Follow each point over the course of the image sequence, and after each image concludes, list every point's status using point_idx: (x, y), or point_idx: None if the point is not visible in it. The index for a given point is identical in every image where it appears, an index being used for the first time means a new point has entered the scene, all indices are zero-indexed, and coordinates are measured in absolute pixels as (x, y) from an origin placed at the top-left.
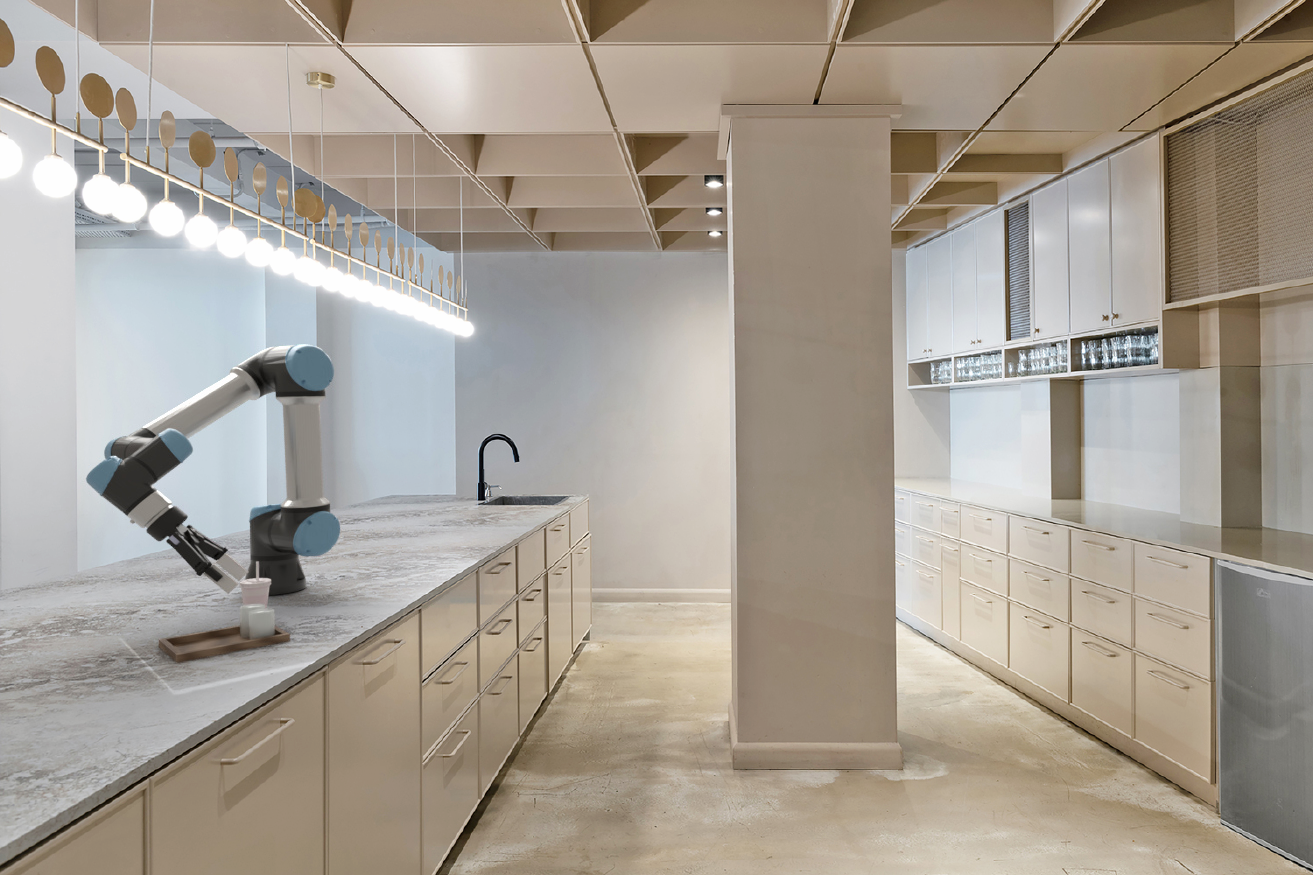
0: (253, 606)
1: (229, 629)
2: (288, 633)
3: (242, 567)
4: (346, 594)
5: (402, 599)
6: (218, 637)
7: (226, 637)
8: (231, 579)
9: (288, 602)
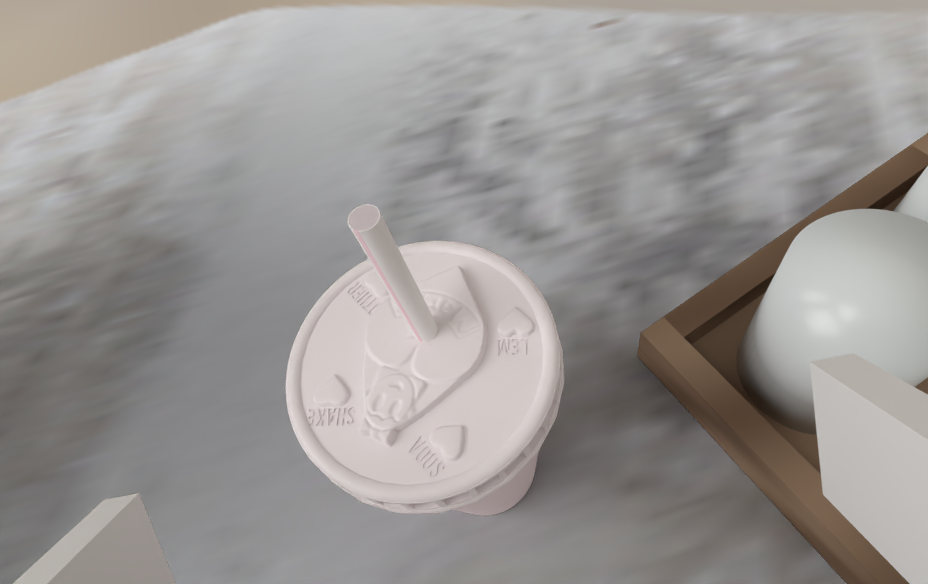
0: (894, 268)
1: None
2: (921, 140)
3: (75, 550)
4: (23, 220)
5: (219, 29)
6: None
7: None
8: (925, 401)
9: (37, 433)
